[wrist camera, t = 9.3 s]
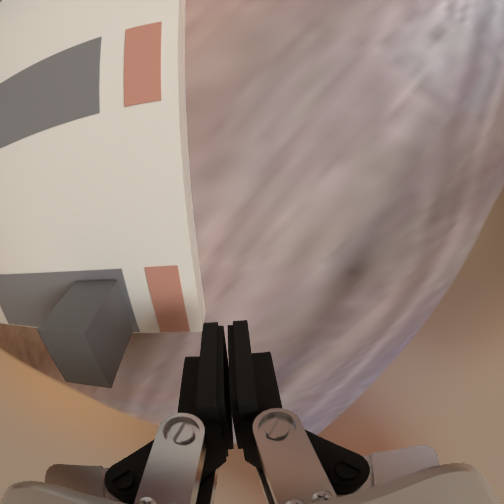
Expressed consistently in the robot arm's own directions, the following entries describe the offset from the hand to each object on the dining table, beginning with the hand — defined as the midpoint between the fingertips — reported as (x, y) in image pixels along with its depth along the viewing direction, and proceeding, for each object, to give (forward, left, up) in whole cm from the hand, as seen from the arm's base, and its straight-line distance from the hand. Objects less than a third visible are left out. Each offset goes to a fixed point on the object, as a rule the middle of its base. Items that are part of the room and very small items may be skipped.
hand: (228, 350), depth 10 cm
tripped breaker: (+6, 0, -3) cm, 7 cm away
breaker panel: (+10, -11, -5) cm, 16 cm away
